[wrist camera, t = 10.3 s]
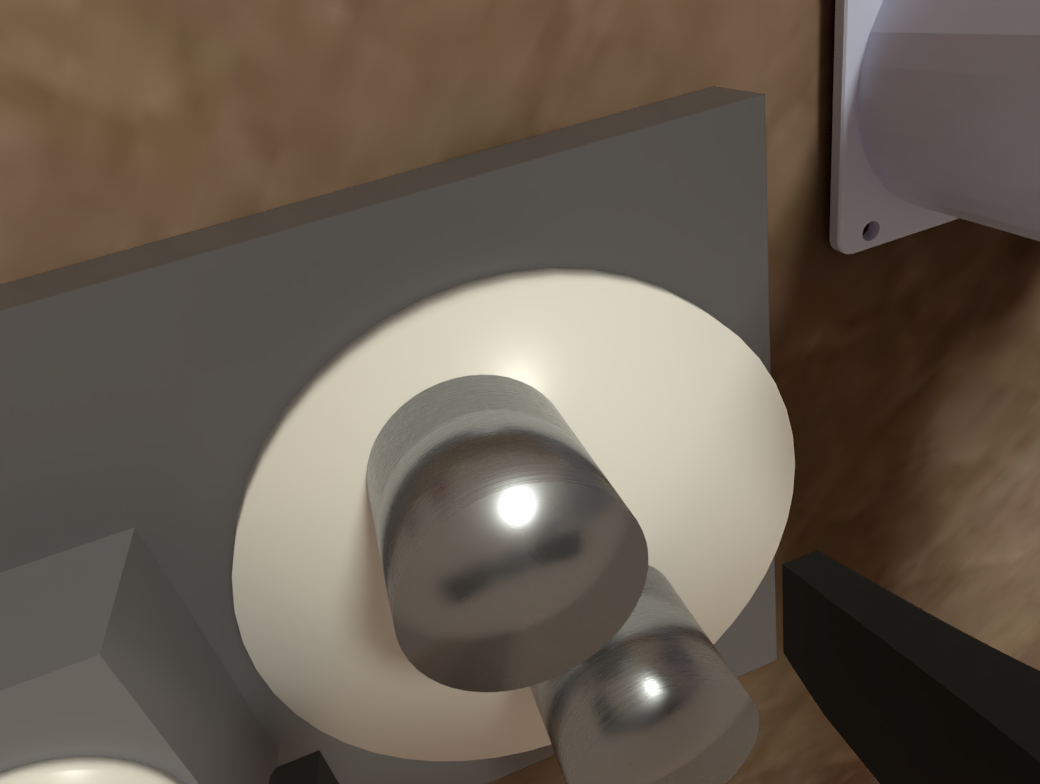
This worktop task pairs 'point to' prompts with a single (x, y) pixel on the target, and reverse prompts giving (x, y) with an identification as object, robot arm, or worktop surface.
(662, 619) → the cylinder
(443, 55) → the worktop surface
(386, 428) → the cylinder
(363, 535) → the kitchen scale
